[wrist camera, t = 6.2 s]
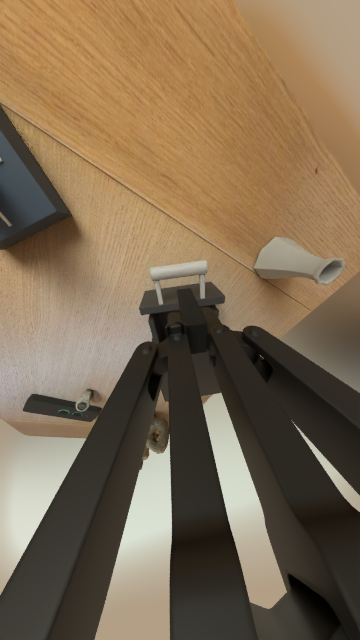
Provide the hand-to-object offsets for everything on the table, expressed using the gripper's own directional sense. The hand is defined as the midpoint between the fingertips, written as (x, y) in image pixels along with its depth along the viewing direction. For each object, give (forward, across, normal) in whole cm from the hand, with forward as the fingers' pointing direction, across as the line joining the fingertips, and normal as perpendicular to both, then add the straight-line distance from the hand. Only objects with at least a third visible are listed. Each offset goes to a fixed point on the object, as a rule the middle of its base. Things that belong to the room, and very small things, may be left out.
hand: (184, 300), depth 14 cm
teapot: (+11, -19, -51) cm, 56 cm away
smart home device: (+11, -42, -38) cm, 58 cm away
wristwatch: (+11, -32, -32) cm, 47 cm away
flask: (+12, +18, 0) cm, 22 cm away
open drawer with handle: (+10, 0, -7) cm, 12 cm away
